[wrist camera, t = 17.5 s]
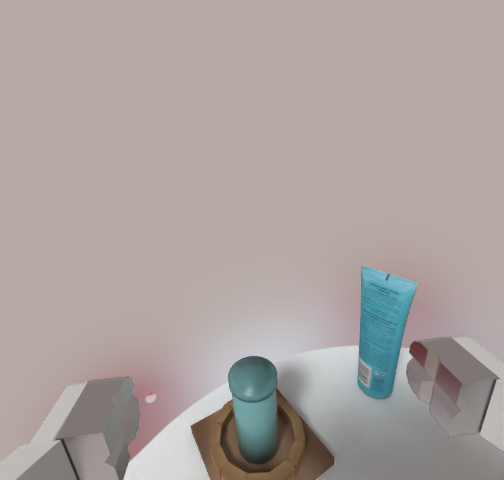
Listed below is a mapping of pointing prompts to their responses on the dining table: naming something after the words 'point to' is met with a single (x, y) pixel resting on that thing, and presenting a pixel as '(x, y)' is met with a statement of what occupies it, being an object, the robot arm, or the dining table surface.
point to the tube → (381, 329)
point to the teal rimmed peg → (255, 408)
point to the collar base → (280, 466)
